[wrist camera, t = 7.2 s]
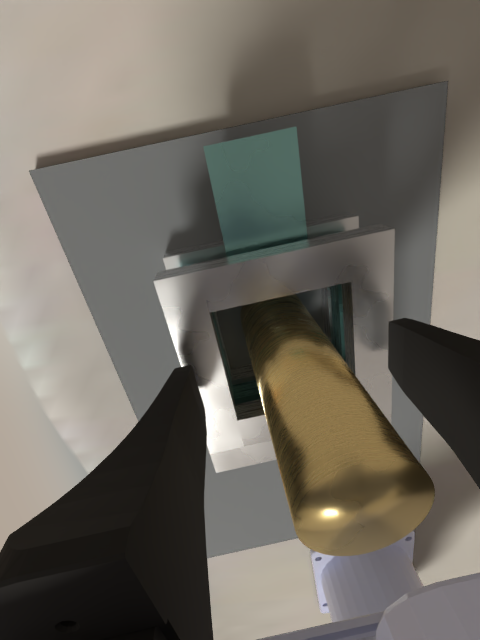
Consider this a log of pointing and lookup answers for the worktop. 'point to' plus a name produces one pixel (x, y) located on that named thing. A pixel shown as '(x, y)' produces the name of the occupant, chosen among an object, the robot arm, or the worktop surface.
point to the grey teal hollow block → (273, 286)
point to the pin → (330, 437)
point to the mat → (203, 227)
